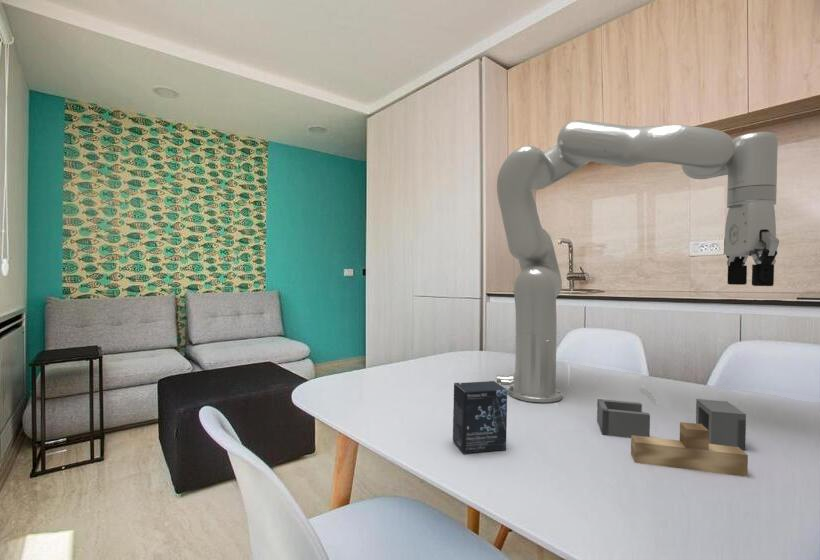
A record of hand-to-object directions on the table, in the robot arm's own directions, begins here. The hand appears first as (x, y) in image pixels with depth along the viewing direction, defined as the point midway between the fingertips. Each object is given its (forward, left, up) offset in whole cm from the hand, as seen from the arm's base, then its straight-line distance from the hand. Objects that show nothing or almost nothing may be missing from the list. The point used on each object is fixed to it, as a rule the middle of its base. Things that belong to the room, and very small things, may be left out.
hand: (749, 285), depth 83 cm
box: (-49, -27, -28) cm, 63 cm away
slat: (-17, -24, -28) cm, 41 cm away
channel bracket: (-8, -11, -28) cm, 31 cm away
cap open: (-24, -11, -28) cm, 39 cm away
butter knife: (-13, +9, -28) cm, 33 cm away
